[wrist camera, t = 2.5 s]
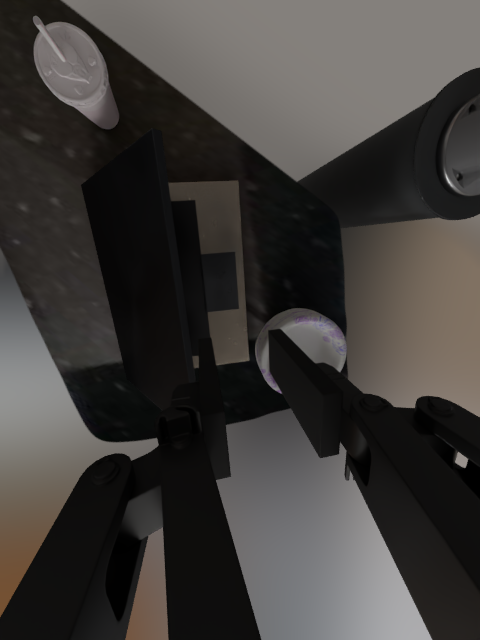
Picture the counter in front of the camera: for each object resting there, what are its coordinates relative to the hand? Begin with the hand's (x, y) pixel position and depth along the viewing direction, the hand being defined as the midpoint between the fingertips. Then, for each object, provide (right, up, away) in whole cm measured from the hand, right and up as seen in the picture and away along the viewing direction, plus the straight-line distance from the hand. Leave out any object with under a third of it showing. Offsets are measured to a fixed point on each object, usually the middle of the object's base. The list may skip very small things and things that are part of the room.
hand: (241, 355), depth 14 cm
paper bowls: (+10, -2, +34) cm, 35 cm away
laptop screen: (-13, +4, +17) cm, 21 cm away
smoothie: (-18, +30, +19) cm, 40 cm away
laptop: (-10, +8, +27) cm, 30 cm away
